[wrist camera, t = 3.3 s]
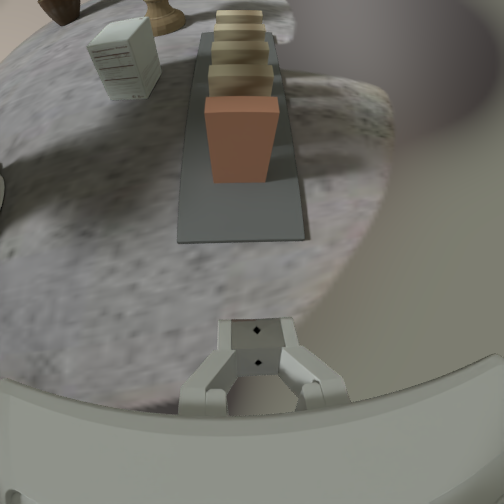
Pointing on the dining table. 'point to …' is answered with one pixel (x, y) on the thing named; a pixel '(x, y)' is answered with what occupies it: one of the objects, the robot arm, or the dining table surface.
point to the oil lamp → (163, 17)
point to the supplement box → (126, 59)
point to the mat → (236, 194)
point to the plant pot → (61, 10)
